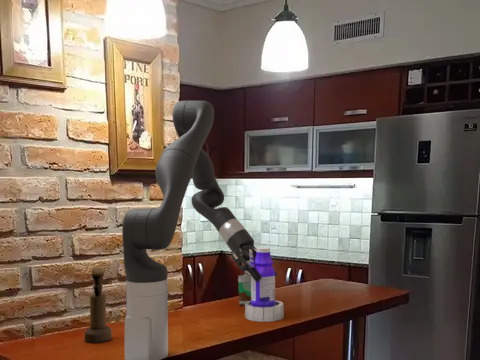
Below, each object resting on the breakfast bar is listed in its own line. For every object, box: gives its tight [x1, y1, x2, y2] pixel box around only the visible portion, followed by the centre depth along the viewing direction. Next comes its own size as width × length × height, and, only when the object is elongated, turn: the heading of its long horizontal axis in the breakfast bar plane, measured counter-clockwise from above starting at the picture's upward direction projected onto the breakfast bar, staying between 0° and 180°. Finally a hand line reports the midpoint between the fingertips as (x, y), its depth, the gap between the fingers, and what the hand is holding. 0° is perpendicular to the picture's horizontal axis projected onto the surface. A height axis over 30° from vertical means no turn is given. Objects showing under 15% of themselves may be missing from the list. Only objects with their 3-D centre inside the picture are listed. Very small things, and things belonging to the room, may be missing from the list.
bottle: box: [251, 246, 276, 307], centre depth 150 cm, size 7×6×17 cm
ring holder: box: [244, 300, 285, 323], centre depth 150 cm, size 11×11×4 cm
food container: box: [237, 271, 251, 307], centre depth 170 cm, size 12×6×10 cm, turn 168°
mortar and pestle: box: [84, 267, 113, 344], centre depth 129 cm, size 7×6×18 cm
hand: (267, 278), depth 150 cm, fingers closed on bottle, 7 cm apart
